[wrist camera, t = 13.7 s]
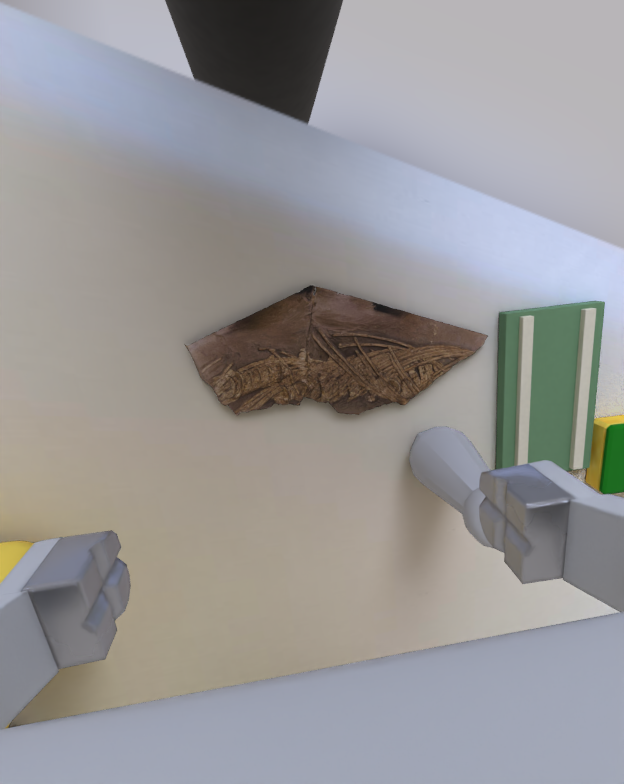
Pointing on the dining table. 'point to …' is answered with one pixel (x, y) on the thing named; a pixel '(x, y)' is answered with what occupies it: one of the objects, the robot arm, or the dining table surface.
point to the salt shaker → (451, 472)
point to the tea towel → (548, 384)
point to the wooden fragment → (328, 354)
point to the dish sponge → (607, 455)
